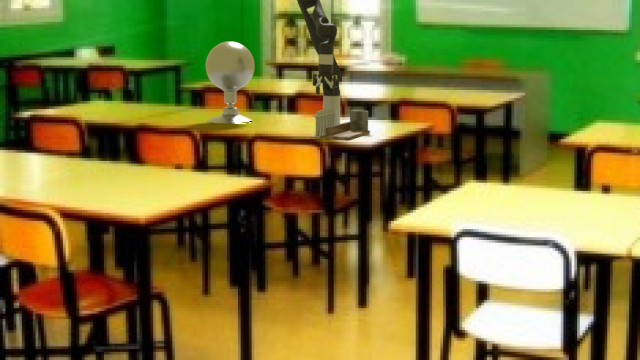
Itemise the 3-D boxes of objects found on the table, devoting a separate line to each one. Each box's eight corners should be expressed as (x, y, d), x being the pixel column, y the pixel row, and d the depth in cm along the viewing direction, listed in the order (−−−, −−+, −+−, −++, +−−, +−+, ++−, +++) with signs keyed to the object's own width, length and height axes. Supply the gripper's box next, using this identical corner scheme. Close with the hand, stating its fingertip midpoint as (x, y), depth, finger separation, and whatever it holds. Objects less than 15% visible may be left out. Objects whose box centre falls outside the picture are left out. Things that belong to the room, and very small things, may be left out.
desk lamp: (203, 123, 564) (202, 42, 557) (209, 117, 592) (208, 40, 584) (252, 123, 564) (252, 42, 556) (256, 118, 591) (256, 40, 583)
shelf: (325, 138, 501) (325, 115, 499) (348, 132, 529) (348, 110, 527) (348, 140, 496) (348, 116, 494) (369, 133, 524) (370, 111, 523)
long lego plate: (328, 132, 529) (329, 107, 527) (336, 132, 528) (337, 107, 526) (311, 137, 506) (311, 111, 504) (319, 138, 505) (319, 111, 503)
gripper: (310, 62, 516) (309, 94, 518) (333, 64, 508) (332, 96, 510) (318, 62, 522) (317, 93, 525) (341, 63, 514) (340, 95, 517)
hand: (324, 95), depth 517 cm, fingers open, 8 cm apart
